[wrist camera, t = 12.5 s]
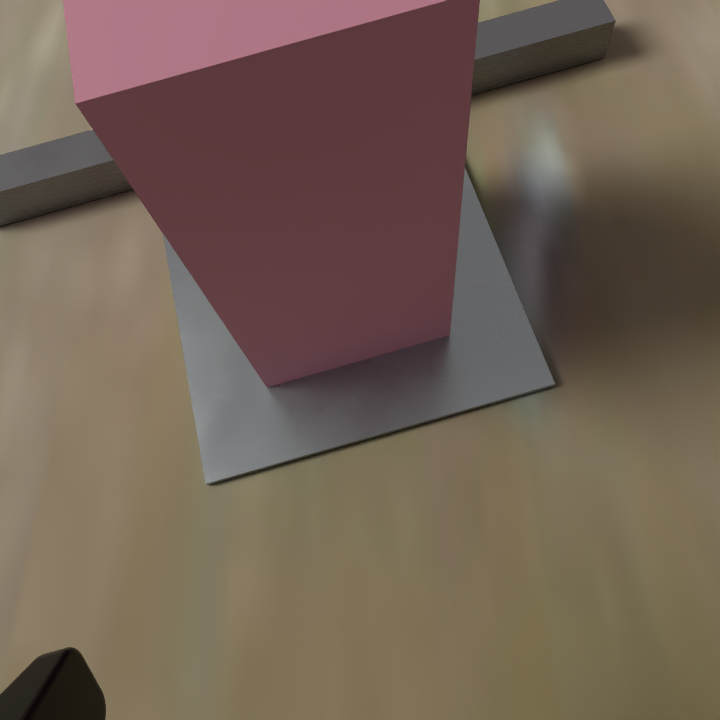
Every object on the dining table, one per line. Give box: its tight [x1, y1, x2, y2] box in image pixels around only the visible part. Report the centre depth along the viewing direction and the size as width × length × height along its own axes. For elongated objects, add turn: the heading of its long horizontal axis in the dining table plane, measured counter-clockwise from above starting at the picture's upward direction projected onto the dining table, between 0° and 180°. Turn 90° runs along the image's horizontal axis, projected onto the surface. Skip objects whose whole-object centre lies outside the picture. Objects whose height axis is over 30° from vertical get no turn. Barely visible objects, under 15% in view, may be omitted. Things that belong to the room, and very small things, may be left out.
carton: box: [63, 0, 480, 387], centre depth 15 cm, size 6×6×11 cm
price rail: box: [0, 0, 616, 485], centre depth 20 cm, size 22×12×2 cm, turn 105°
